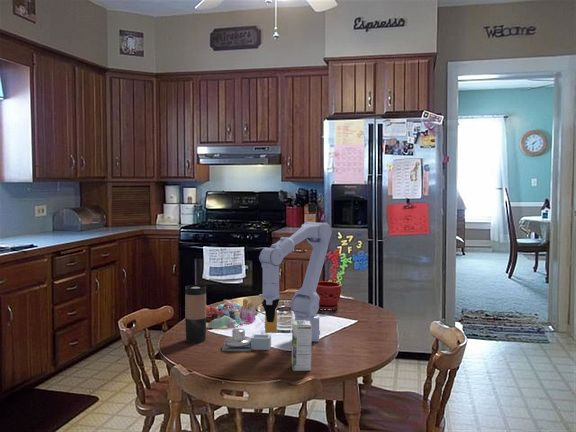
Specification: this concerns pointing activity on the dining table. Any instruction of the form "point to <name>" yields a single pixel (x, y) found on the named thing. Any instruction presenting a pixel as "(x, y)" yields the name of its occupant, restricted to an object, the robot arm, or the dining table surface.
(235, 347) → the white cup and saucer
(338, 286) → the plant pot
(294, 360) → the syrup box
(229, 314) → the candy landscape model
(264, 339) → the bracket head
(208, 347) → the dining table surface
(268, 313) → the robot arm
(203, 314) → the travel mug
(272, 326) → the wedge
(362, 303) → the dining table surface
